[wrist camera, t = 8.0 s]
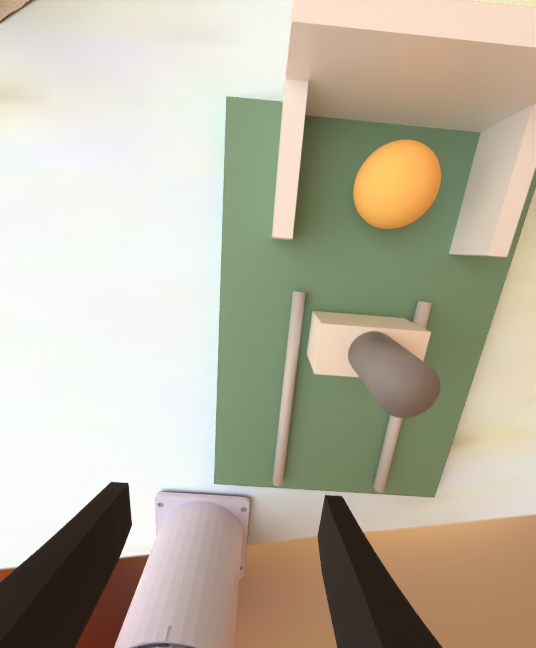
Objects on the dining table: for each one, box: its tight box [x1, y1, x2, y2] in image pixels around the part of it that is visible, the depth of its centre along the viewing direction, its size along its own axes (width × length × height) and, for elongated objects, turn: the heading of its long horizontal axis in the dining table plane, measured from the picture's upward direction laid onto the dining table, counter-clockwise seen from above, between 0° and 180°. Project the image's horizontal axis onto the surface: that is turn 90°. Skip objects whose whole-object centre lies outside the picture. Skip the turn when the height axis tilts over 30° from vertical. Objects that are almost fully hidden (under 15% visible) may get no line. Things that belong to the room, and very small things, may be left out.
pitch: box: [214, 96, 536, 497], centre depth 18 cm, size 26×18×2 cm
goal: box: [272, 0, 536, 257], centre depth 12 cm, size 8×12×6 cm, turn 85°
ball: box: [353, 140, 441, 229], centre depth 13 cm, size 4×4×4 cm
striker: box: [307, 311, 440, 418], centre depth 14 cm, size 3×6×7 cm, turn 85°
